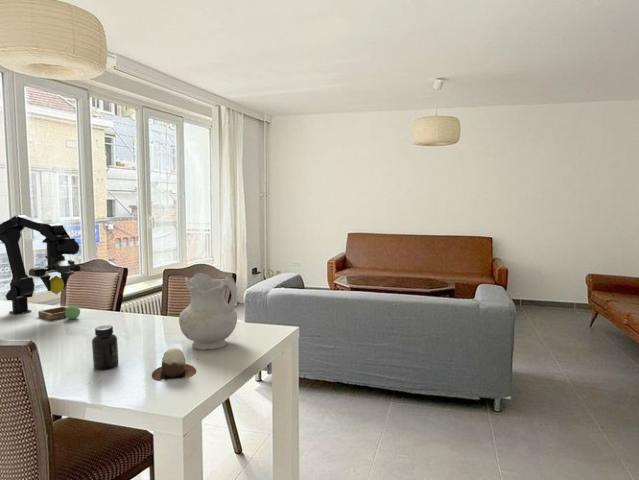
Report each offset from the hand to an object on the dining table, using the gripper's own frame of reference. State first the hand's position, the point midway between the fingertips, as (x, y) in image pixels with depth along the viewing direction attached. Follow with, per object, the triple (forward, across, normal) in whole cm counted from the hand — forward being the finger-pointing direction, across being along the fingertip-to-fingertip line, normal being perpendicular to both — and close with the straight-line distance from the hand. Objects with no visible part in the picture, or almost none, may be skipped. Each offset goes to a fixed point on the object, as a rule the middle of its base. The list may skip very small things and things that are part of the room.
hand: (56, 290), depth 193 cm
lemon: (+2, 0, 0) cm, 2 cm away
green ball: (+11, +1, -10) cm, 15 cm away
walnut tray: (+11, 0, 0) cm, 11 cm away
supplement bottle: (+11, -22, -72) cm, 76 cm away
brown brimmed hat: (+11, -14, -93) cm, 95 cm away
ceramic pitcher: (+11, +10, -83) cm, 85 cm away
